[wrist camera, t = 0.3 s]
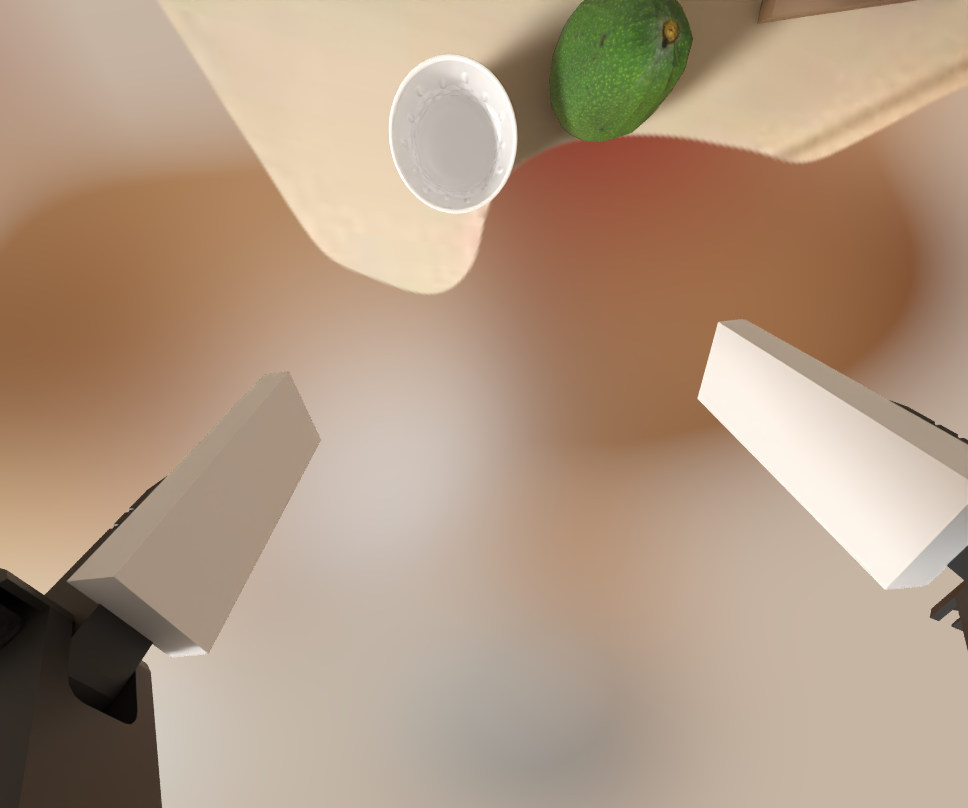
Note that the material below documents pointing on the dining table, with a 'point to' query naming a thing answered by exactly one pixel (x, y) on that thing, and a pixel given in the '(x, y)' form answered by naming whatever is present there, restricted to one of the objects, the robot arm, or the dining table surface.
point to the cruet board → (812, 7)
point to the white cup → (453, 133)
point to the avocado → (617, 65)
